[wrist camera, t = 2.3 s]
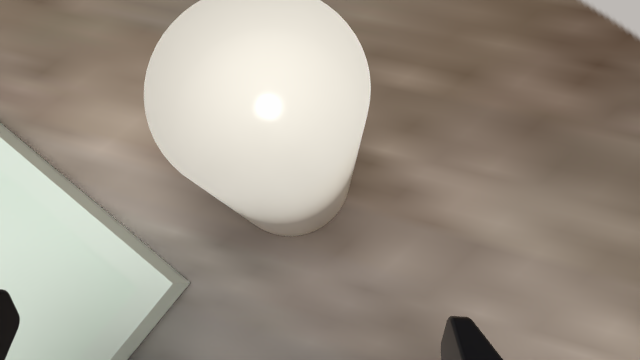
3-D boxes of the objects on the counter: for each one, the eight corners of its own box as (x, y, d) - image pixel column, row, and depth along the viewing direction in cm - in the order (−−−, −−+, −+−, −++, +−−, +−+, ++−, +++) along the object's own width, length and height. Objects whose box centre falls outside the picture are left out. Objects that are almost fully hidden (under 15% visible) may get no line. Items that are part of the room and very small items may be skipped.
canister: (373, 166, 23) (415, 67, 12) (299, 261, 22) (273, 247, 11) (282, 98, 23) (242, -55, 13) (207, 186, 23) (96, 105, 12)
